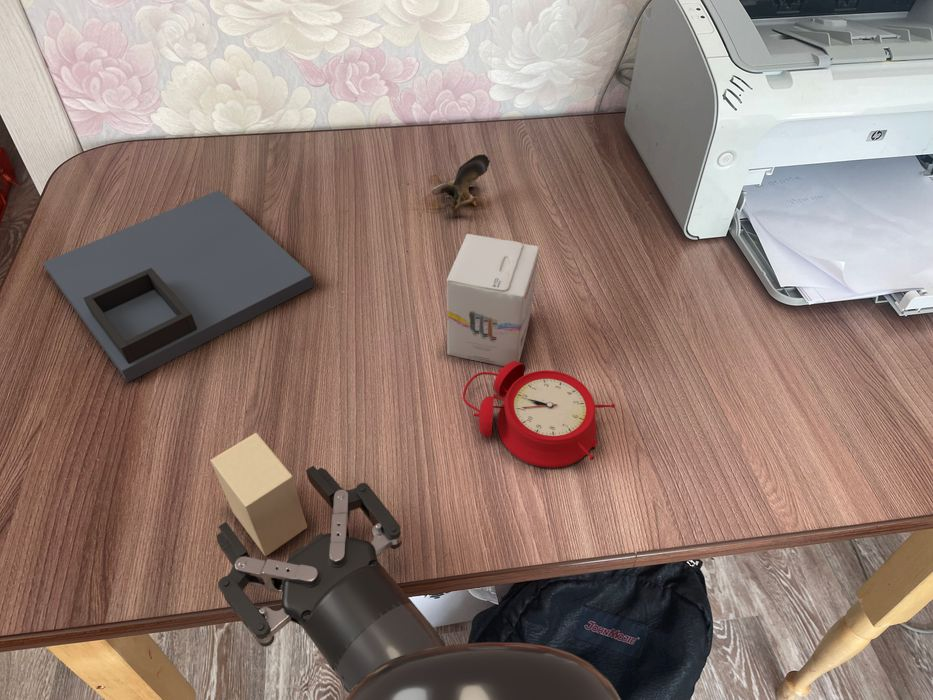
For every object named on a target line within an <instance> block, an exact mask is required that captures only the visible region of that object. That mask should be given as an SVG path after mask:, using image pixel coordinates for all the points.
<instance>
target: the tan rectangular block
mask: <svg viewBox="0 0 933 700" xmlns="http://www.w3.org/2000/svg"><path fill="white" fill-rule="evenodd" d="M210 464H211V465H212V468H213V470H214V472H215V474H216V477H217V479H218V481H219V484H220V486H221V488H222V491H223V493H224V495H225V498H226V500H227V502H228V505H229V507H230V510H231V511H232V513H233V515H234V516H235V517H236V519H237V520H238V521H239V523H240V524H241V525H242V527H243V528H244V529H245V531H246V532H247V534H248V536H249V537H250V538H251V539H252V541H253V542H254V543H255V544H256V546H257V547H258V549H259V550H260V551H261V553H262V554H263V555H264V556H265V557H267V556H269V555H270V554H271V553H273V552H275V551H276V550H277V549H279V548H281V546H283V545H284V544H286V543H287V542H289V541H290V540H292V539H293V538H295V537H296V536H297V535H299V534H300V533H302V532H303V531H305V530H306V529H307V528H308V525H307V521H306V518H305V515H304V511H303V507H302V504H301V501H300V497H299V493H298V490H297V486H296V483H295V480H294V476H293V475H292V474H291V472H290V471H289V470H288V469H287V467H286V466H285V465H284V463H282V462H281V460H280V459H279V458H278V456H276V454H275V453H274V451H272V449H271V448H270V447H269V446H268V445H267V443H266V442H265V441H264V440H263V439H262V438H261V436H260V435H259V434H258V432H255V433H253V434H251V435H249V436H248V437H246V438H244V439H243V440H241V441H239V442H238V443H236V444H234V445H232V446H231V447H230V448H228V449H226V450H224V451H223V452H221V453H220V454H217V455H216V456H214V457H213V458H211V459H210Z"/></svg>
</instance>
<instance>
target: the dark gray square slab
mask: <svg viewBox="0 0 933 700" xmlns="http://www.w3.org/2000/svg"><path fill="white" fill-rule="evenodd" d="M42 264H43V266H44V267H45V269H46V272H48V275H49V276H50V278H51V279H52V280H53V281H54V283H55V285H56V286H57V287H58V288H59V290H60V292H62V294H63V295H64V296H65V298H66V300H67V301H68V302H69V303H70V305H71V306H72V308H73V309H74V311H75V312H76V313H77V315H78V317H80V319H81V320H82V322H83V323H84V324H85V326H86V327H87V328H88V330H89V331H90V333H91V334H92V335H93V337H94V338H95V339H96V341H97V342H98V344H99V345H100V346H101V348H102V349H103V351H104V352H105V353H106V354H107V356H108V358H109V359H110V360H111V362H112V363H113V364H114V365H115V367H116V368H117V370H118V371H119V373H120V374H121V375H122V376H123V378H124V380H125V381H126V382H127V383H130V382H132V381H134V380H136V379H137V378H140V377H141V376H143V375H146V374H147V373H150V372H151V371H153V370H155V369H157V368H159V367H161V366H163V365H165V364H166V363H169V362H172V361H173V360H174V359H177V358H178V357H180V356H182V355H185V354H186V353H188V352H190V351H192V350H194V349H196V348H198V347H200V346H202V345H203V344H205V343H207V342H210V341H212V340H213V339H215V338H217V337H219V336H221V335H223V334H225V333H228V332H229V331H231V330H234V329H235V328H236V327H238V326H240V325H242V324H245V323H246V322H249V321H250V320H252V319H254V318H256V317H258V316H259V315H262V314H263V313H266V312H267V311H269V310H271V309H273V308H275V307H277V306H279V305H281V304H284V303H286V302H287V301H289V300H290V299H294V298H295V297H297V296H299V295H300V294H302V293H304V292H306V291H308V290H310V289H312V288H314V282H313V275H312V273H310V272H309V271H308V270H307V269H306V268H304V267H303V266H302V265H301V263H299V262H298V261H297V260H296V259H295V258H294V257H293V256H291V255H290V254H289V253H288V251H287V250H285V249H284V248H283V247H282V246H281V245H280V244H279V243H278V242H276V241H275V240H274V239H273V238H272V237H271V236H270V235H269V234H268V233H267V232H266V231H265V230H264V229H262V228H261V226H260V225H259V224H257V223H256V222H255V221H254V220H253V219H252V218H250V217H249V215H247V214H246V213H245V212H244V211H243V210H242V209H241V208H240V207H239V206H238V205H237V204H236V203H235V202H234V201H232V200H231V199H230V198H229V197H228V196H227V195H226V194H225V193H224V192H222V190H220V189H217V190H215V191H213V192H210V193H208V194H206V195H203V196H200V197H198V198H196V199H193V200H191V201H188V202H186V203H183V204H181V205H179V206H176V207H173V208H172V209H169V210H166V211H164V212H162V213H159V214H157V215H155V216H152V217H150V218H147V219H145V220H143V221H140V222H138V223H137V222H136V223H135V224H132V225H130V226H128V227H125V228H122V229H120V230H118V231H115V232H113V233H110V234H108V235H106V236H104V237H100V238H98V239H96V240H94V241H91V242H89V243H86V244H84V245H82V246H81V245H80V246H79V247H76V248H74V249H72V250H70V251H67V252H65V253H62V254H60V255H58V256H55V257H52V258H50V259H47V260H45V261H43V262H42Z"/></svg>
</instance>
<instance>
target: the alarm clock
mask: <svg viewBox="0 0 933 700" xmlns="http://www.w3.org/2000/svg"><path fill="white" fill-rule="evenodd" d="M497 372H498V373H496V372H491V371H482V372H478V373H476V374H475V375H473V376H472V377H471V378H470V379H469V380H468V382H467V383H466V384H465V386H464V389H463V392H462V401H463V402H464V403H465V404H466V405H467V407H468V408H471V409H473V410H474V411H476V412H477V413H473V415H472V416H473V417H476V418H477V417H478V428H479V431H480V434H481V435H482V436H483V437H485V438H491V439H492V433H493V432H492V431H493V420H494V419H493V418H494V409H499V410H498V413H497V421H496V424H497V425H496V426H497V432H498V435H499V438H500V440H501V442H502V444H503V445H504V447H505V448H506V449H507V450H508V451H509V452H510V453H511V455H513V456H515V457H516V458H517V459H519V460H521V461H523V462H525V463H527V464H530V465H531V466H532V465H533V466H536V467H541V468H560V467H565V466H569V465H572V464H574V463H576V462H578V461H580V460H582V458H584V457H585V456H586V455H587V456H588V457H589V460H591V461H593V460H594V459H595V456H594V454H593V455H592V454H591V453H590V450H591V449H592V448H597V445H598V442H599V440H597V439H596V437H597V426H598V425H597V420H596V409H597V408H598V409H599V408H600V409H601V408H612V409H614V408H616V404H615V403H611V404H595V400H594V398H593V396H592V394H591V392H590V390H589V389H588V387H586V385H585V384H584V383H582V382H581V381H580V380H579V379H577V378H575V376H572V375H569V374H568V373H564V372H561V371H558V370H557V371H556V370H551V369H550V370H548V369H547V370H546V369H545V370H544V369H543V370H542V369H541V370H536V371H532V372H529V373H526V374H525V372H526V366H525V364H523V363H522V362H520V361H519V362H518V361H513V362H510V363H508V364H506V365H505V366H502V367H501V368H499V369H498V370H497ZM484 375H489V376H495V379H494V382H493V388H494V392H495V393H493V395H488V396H485V397H484V398H483V399H482V401H481V403H480V407H479V408H477V407H476V406H474V405H472V404H470V403H469V402H468V400H467V399H466V393H467V390H468V387H469V386H470V384H471V383H472V382H473V381H474V379H476V378H477V377H479V376H484ZM497 395H498V396H497ZM495 399H498V400H501V401H503V402H502V404H501V405H495V404H494V403H495Z"/></svg>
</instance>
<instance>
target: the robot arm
mask: <svg viewBox="0 0 933 700" xmlns="http://www.w3.org/2000/svg"><path fill="white" fill-rule="evenodd" d="M305 472H306V476H307V479H308V482H309V483H310V485H311V486H312V487H313V488H314V489H315V491H316V492H317V493H318V495H320V497H321V498H322V499H323V500H324V501H325V503H326V504H327V505H328V506H329V508H330V509H332V513H331V525H330V526H331V527H330V532H328V533H324V534H323V533H322V532H320V533H319V534H317V535H316V536H314V537H313V538H312V539H311V540H310V541H309V542H308V544H306V545H304V546H302V547H300V548H297V549H296V550H294V551H292V552H291V553H290V554H288V557H289V558H288V559H287V561H282V560H276V559H271V558H266V559H259V558H255V557H251V556H250V554H249V552H248V550H247V549H246V547H245V546H244V544H243V543H242V542H241V540H240V539H239V537H238V536H237V534H236V533H235V532H234V530H233V529H232V528H231V526H230V525H229V524H228V521H225V522H223V523H222V524H220V525H219V526H218V529H219V531H220V532H219V533H218V534H216V542H217V543H218V546H219V548H220V550H221V551H222V553H223V554H224V555H225V557H226V558H227V560H228V561H229V563H230V564H231V566H232V568H231V570H230V572H228V574H227V575H225V576H223V577H221V578H220V579H219V580H218V583H217V587H218V589H219V591H220V592H221V593H222V595H223V598H224V601H225V602H226V603H227V604H228V605H229V607H230V608H231V609H232V610H233V612H234V613H235V614H236V616H237V617H238V618H239V619H240V621H241V622H242V623H243V625H244V626H245V627H246V628H247V630H249V632H250V633H251V635H252V637H253V638H254V639H255V640H256V641H257V643H258V644H259V645H260V646H261V647H265V648H267V647H270V646H271V645H273V643H274V641H275V635H276V634H277V633H278V632H280V631H281V630H282V629H283V628H284V627H286V626H287V625H288V624H289V623H290V622H291V623H295V624H298V625H299V626H300V627H301V628H302V629H303V630H304V632H305V633H306V635H307V636H308V637H309V638H310V640H311V641H312V643H313V645H314V646H315V647H316V648H317V649H318V651H319V652H320V654H321V655H322V657H323V658H324V659H325V661H326V662H327V664H328V665H329V666H330V668H331V669H332V671H333V672H334V673H335V675H336V676H337V677H338V679H339V680H340V682H341V686H342V687H343V689H344V690H345V691H346V692H347V693H348V695H347V696H346V698H345V700H623V699H622V698H621V696H620V694H619V692H618V691H617V689H616V688H615V686H614V684H613V683H612V681H610V679H609V678H608V676H606V674H605V673H603V672H602V671H601V670H600V669H598V668H597V667H596V666H595V665H593V664H592V663H591V662H589V661H587V660H586V659H584V658H583V657H579V656H578V655H576V654H573V653H571V652H569V651H567V650H563V649H561V648H556V647H552V646H547V645H545V644H543V645H542V644H534V643H527V642H516V641H515V642H512V641H511V642H509V641H507V642H505V641H488V642H487V641H486V642H471V643H470V642H467V643H458V644H447V645H446V644H445V643H444V641H443V639H442V637H441V636H440V635H439V633H438V631H437V629H436V628H435V627H434V626H433V624H431V622H430V621H429V620H428V619H427V617H426V616H425V615H424V614H423V613H422V612H421V611H420V609H419V608H418V607H417V605H415V603H414V602H413V601H412V600H411V599H410V597H409V596H408V595H407V594H406V593H405V591H404V590H403V589H402V588H401V587H400V585H399V584H398V582H397V581H395V579H394V578H393V577H392V576H391V574H390V573H389V572H388V571H387V570H386V569H385V567H383V565H382V564H381V563H380V561H379V559H378V556H379V555H380V554H382V553H383V552H385V551H387V550H388V549H391V550H396V549H400V547H401V546H402V544H403V541H402V540H403V539H402V529H401V525H400V523H399V522H397V520H396V518H395V517H394V516H393V515H392V513H391V512H390V511H389V510H388V508H387V507H386V505H385V504H384V503H383V502H382V501H381V499H380V498H379V496H378V495H377V494H376V493H375V492H374V490H373V489H372V487H371V486H370V485H369V484H368V483H365V482H360V483H358V484H357V485H356V487H355V488H352V489H344V488H342V487H341V485H340V484H339V483H338V482H337V481H336V480H335V478H334V477H333V476H332V475H331V474H330V472H329V471H328V470H327V469H325V468H323V467H319V468H318V469H317V468H316V467H315V466H314V465H312V466H310V467H308V468H307V469H306V470H305ZM357 509H360V510H361V511H362V513H363V514H364V515H365V517H366V518H367V520H368V521H369V522H370V523H371V525H372V527H371V528H372V529H371V532H372V538H373V539H372V541H368V540H365V539H360V538H356V537H352V536H351V515H352V514H351V513H352V512H353V511H354V510H357ZM351 511H352V512H351ZM247 585H252V586H255V587H260V588H265V589H266V590H268V591H270V592H273V593H278V594H281V608H280V609H278V610H273V609H272V608H270V607H269V606H262V607H260V608H259V609H258V608H257V606H256V605H255V604H254V603H253V602H252V600H251V599H250V598H249V597H248V595H247V594H246V592H245V591H244V589H245V588H246V587H247Z"/></svg>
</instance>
